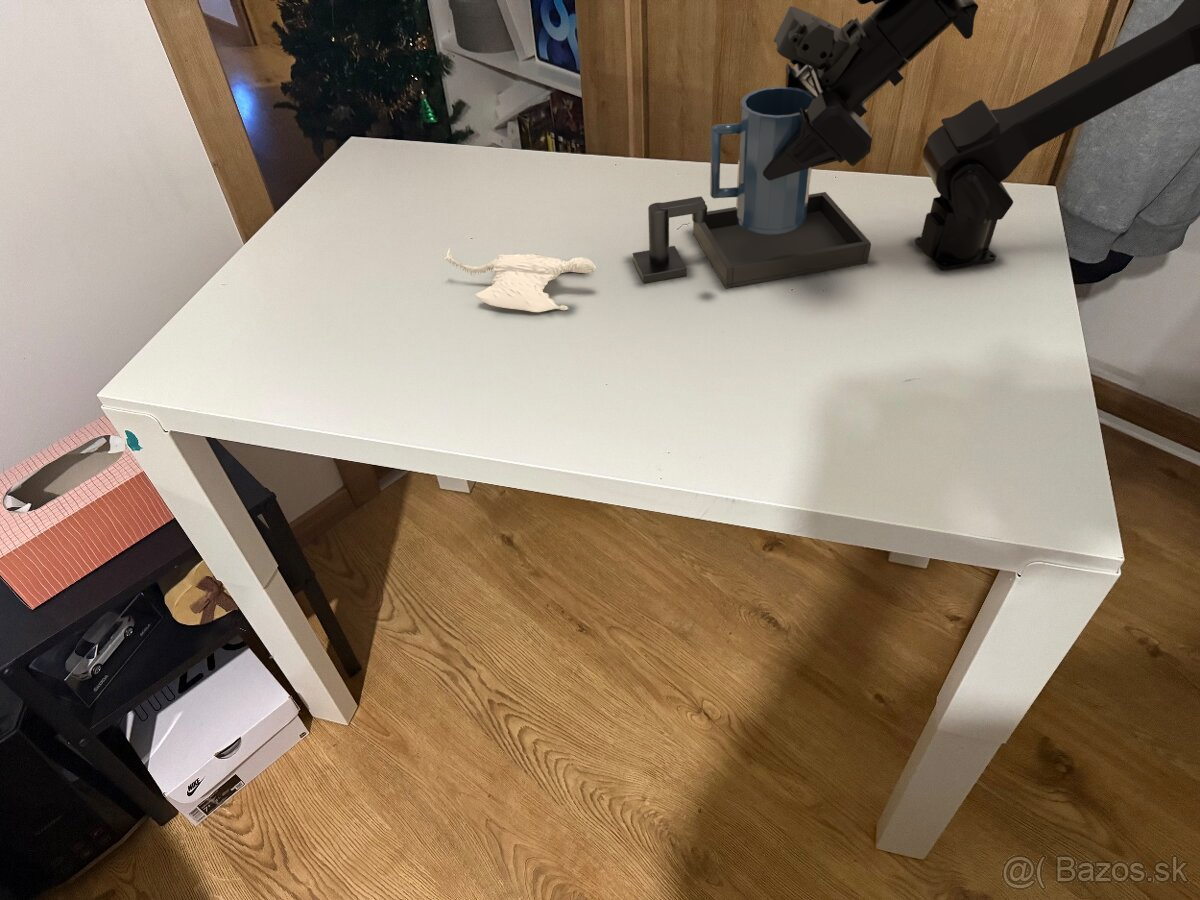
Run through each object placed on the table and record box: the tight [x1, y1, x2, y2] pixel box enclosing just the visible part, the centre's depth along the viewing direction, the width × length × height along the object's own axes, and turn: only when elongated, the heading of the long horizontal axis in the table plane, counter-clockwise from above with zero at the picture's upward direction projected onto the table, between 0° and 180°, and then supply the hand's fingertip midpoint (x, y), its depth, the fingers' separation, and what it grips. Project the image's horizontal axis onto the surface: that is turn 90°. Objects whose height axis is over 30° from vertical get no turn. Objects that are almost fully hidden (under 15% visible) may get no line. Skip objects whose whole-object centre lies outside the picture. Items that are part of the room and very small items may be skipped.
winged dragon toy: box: [441, 246, 597, 313], centre depth 90 cm, size 18×10×4 cm, turn 78°
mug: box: [709, 86, 816, 234], centre depth 85 cm, size 10×7×12 cm
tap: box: [632, 196, 708, 284], centre depth 90 cm, size 8×5×8 cm, turn 102°
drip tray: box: [692, 191, 872, 289], centre depth 93 cm, size 16×12×2 cm
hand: (761, 159), depth 85 cm, fingers closed on mug, 7 cm apart
